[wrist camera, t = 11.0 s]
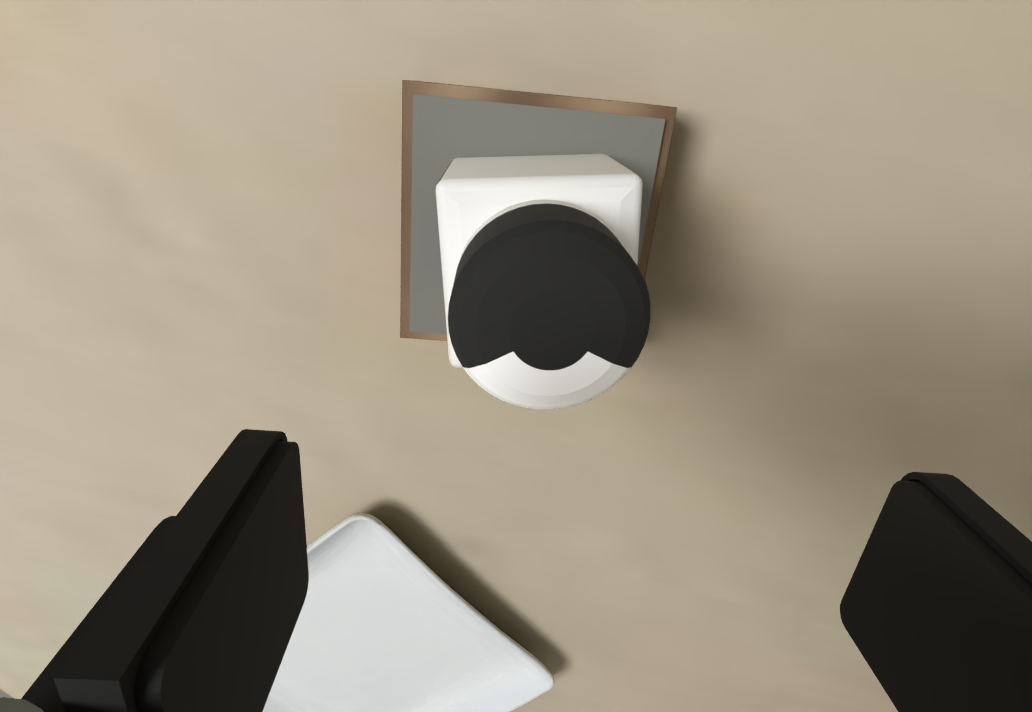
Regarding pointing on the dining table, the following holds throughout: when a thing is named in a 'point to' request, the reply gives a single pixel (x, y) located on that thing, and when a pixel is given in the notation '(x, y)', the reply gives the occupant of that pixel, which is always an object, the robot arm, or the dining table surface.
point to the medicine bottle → (542, 275)
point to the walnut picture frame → (497, 133)
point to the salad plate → (394, 636)
